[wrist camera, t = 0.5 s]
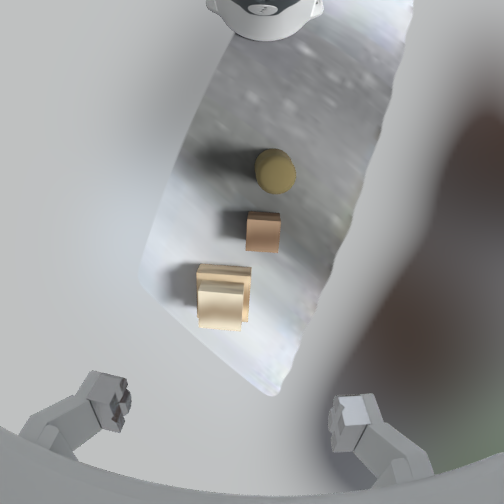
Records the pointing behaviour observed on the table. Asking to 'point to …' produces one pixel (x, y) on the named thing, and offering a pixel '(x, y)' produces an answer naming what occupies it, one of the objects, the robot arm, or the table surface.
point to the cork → (275, 171)
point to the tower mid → (220, 305)
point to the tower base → (227, 280)
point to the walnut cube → (263, 232)
